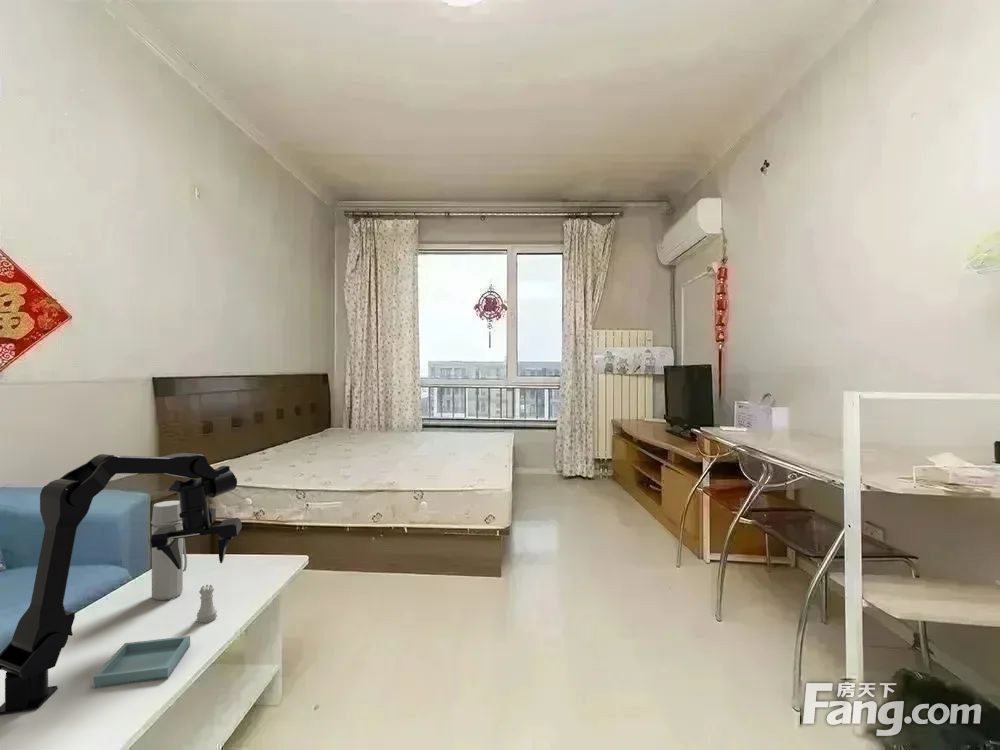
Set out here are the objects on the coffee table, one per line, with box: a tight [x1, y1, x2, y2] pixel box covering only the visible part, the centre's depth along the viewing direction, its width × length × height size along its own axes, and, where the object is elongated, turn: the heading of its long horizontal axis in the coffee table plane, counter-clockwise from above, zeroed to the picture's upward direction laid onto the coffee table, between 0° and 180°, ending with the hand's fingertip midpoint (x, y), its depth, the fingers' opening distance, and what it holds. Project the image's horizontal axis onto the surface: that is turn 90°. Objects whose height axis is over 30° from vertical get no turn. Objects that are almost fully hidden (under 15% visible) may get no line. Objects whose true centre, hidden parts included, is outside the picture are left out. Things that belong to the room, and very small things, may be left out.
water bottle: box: [150, 500, 188, 601], centre depth 139 cm, size 9×8×25 cm
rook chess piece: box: [196, 584, 218, 624], centre depth 125 cm, size 4×4×8 cm
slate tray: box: [93, 635, 191, 689], centre depth 105 cm, size 13×13×2 cm
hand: (201, 565), depth 125 cm, fingers open, 9 cm apart
